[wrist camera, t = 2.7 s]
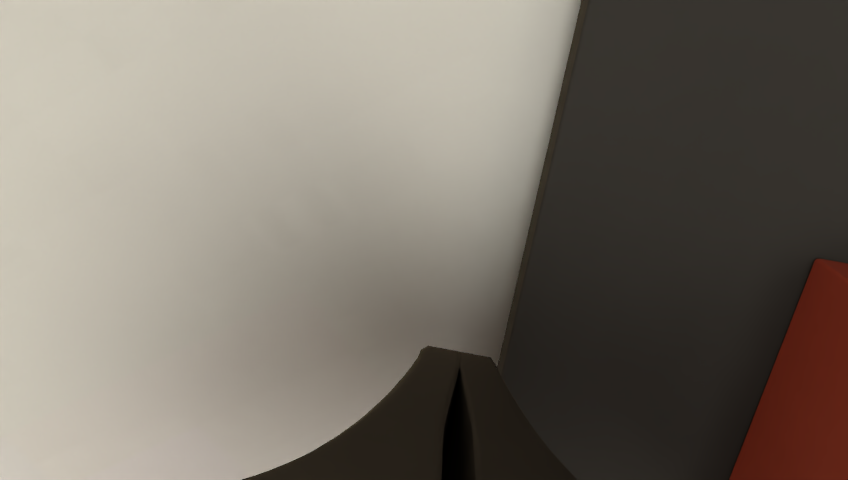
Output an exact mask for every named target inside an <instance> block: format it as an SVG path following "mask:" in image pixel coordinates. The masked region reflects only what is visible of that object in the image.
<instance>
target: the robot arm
mask: <svg viewBox="0 0 848 480" xmlns="http://www.w3.org/2000/svg"><path fill="white" fill-rule="evenodd" d="M242 480H577V479H576V478H575V477H574V475H573V474H572V473H571V472H570V471H569V470H568V469H567V468H566V467H565V466H564V465H563V464H562V463H561V462H560V461H559V460H558V458H557V457H556V456H555V455H554V454H553V453H552V451H551V450H550V449H549V448H548V447H547V445H546V444H545V443H544V441H543V440H542V439H541V438H540V436H539V435H538V434H537V432H536V431H535V430H534V428H533V427H532V425H531V424H530V423H529V421H528V419H527V418H526V416H525V415H524V413H523V412H522V410H521V409H520V407H519V406H518V404H517V402H516V401H515V399H514V398H513V396H512V394H511V392H510V391H509V389H508V387H507V385H506V384H505V382H504V380H503V378H502V376H501V375H500V373H499V371H498V369H497V367H496V365H495V363H494V362H493V360H492V359H491V358H490V357H485V356H480V355H474V354H469V353H464V352H458V351H453V350H448V349H442V348H437V347H432V346H427V347H425V348H423V349H422V350H421V351H420V354H419V356H418V358H417V359H416V361H415V362H414V364H413V365H412V367H411V368H410V369H409V371H408V372H407V373H406V374H405V376H404V377H403V378H402V379H401V380H400V381H399V382H398V384H397V385H396V386H395V387H394V388H393V389H392V390H391V391H390V392H389V393H388V394H387V395H386V396H385V397H384V398H383V399H382V400H381V401H380V402H379V403H378V404H377V405H376V406H375V407H374V408H373V409H371V410H370V411H369V412H368V413H367V414H366V415H365V416H363V417H362V418H361V419H360V420H359V421H357V422H356V423H355V424H353V425H352V426H351V427H349V428H348V429H347V430H345V431H344V432H342V433H341V434H340V435H338V436H337V437H335V438H334V439H332V440H330V441H329V442H327V443H325V444H324V445H322V446H321V447H319V448H317V449H316V450H314V451H312V452H310V453H308V454H306V455H304V456H302V457H300V458H298V459H296V460H294V461H291V462H289V463H287V464H285V465H282V466H280V467H277V468H275V469H272V470H270V471H267V472H264V473H261V474H259V475H256V476H252V477H249V478H246V479H242Z"/></svg>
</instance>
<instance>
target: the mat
mask: <svg viewBox="0 0 848 480" xmlns="http://www.w3.org/2000/svg"><path fill="white" fill-rule="evenodd" d="M816 259H825V260H831V261H836V262H842V263H847V264H848V0H582V1H581V6H580V10H579V14H578V19H577V23H576V27H575V32H574V36H573V41H572V45H571V49H570V54H569V58H568V62H567V67H566V71H565V75H564V80H563V84H562V88H561V93H560V97H559V101H558V106H557V110H556V115H555V119H554V123H553V128H552V132H551V136H550V141H549V145H548V149H547V154H546V158H545V162H544V167H543V171H542V175H541V180H540V184H539V189H538V193H537V197H536V202H535V206H534V210H533V215H532V219H531V223H530V228H529V232H528V236H527V241H526V245H525V249H524V254H523V258H522V263H521V267H520V271H519V276H518V280H517V284H516V289H515V293H514V297H513V302H512V306H511V310H510V315H509V319H508V323H507V328H506V332H505V336H504V341H503V345H502V350H501V354H500V358H499V363H498V367H497V369H498V371H499V373H500V375H501V376H502V378H503V380H504V382H505V384H506V385H507V387H508V389H509V391H510V392H511V394H512V396H513V398H514V399H515V401H516V402H517V404H518V406H519V407H520V409H521V410H522V412H523V413H524V415H525V416H526V418H527V419H528V421H529V423H530V424H531V425H532V427H533V428H534V430H535V431H536V432H537V434H538V435H539V436H540V438H541V439H542V440H543V441H544V443H545V444H546V445H547V447H548V448H549V449H550V450H551V451H552V453H553V454H554V455H555V456H556V457H557V458H558V460H559V461H560V462H561V463H562V464H563V465H564V466H565V467H566V468H567V469H568V470H569V471H570V472H571V473H572V474H573V475H574V477H575V478H576V479H577V480H729V479H730V476H731V474H732V471H733V468H734V466H735V463H736V461H737V458H738V456H739V453H740V450H741V448H742V445H743V443H744V440H745V438H746V435H747V433H748V430H749V427H750V425H751V422H752V420H753V417H754V415H755V412H756V410H757V407H758V404H759V402H760V399H761V397H762V394H763V392H764V389H765V386H766V384H767V381H768V379H769V376H770V374H771V371H772V369H773V366H774V363H775V361H776V358H777V356H778V353H779V351H780V348H781V346H782V343H783V340H784V338H785V335H786V333H787V330H788V328H789V325H790V322H791V320H792V317H793V315H794V312H795V310H796V307H797V305H798V302H799V299H800V297H801V294H802V292H803V289H804V287H805V284H806V282H807V279H808V276H809V274H810V271H811V269H812V266H813V264H814V261H815V260H816Z"/></svg>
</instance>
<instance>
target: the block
mask: <svg viewBox="0 0 848 480" xmlns="http://www.w3.org/2000/svg"><path fill="white" fill-rule="evenodd" d="M729 480H848V264H847V263H842V262H836V261H831V260H825V259H816V260H815V261H814V264H813V266H812V269H811V271H810V274H809V276H808V279H807V282H806V284H805V287H804V289H803V292H802V294H801V297H800V299H799V302H798V305H797V307H796V310H795V312H794V315H793V317H792V320H791V322H790V325H789V328H788V330H787V333H786V335H785V338H784V340H783V343H782V346H781V348H780V351H779V353H778V356H777V358H776V361H775V363H774V366H773V369H772V371H771V374H770V376H769V379H768V381H767V384H766V386H765V389H764V392H763V394H762V397H761V399H760V402H759V404H758V407H757V410H756V412H755V415H754V417H753V420H752V422H751V425H750V427H749V430H748V433H747V435H746V438H745V440H744V443H743V445H742V448H741V450H740V453H739V456H738V458H737V461H736V463H735V466H734V468H733V471H732V474H731V476H730V479H729Z"/></svg>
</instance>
